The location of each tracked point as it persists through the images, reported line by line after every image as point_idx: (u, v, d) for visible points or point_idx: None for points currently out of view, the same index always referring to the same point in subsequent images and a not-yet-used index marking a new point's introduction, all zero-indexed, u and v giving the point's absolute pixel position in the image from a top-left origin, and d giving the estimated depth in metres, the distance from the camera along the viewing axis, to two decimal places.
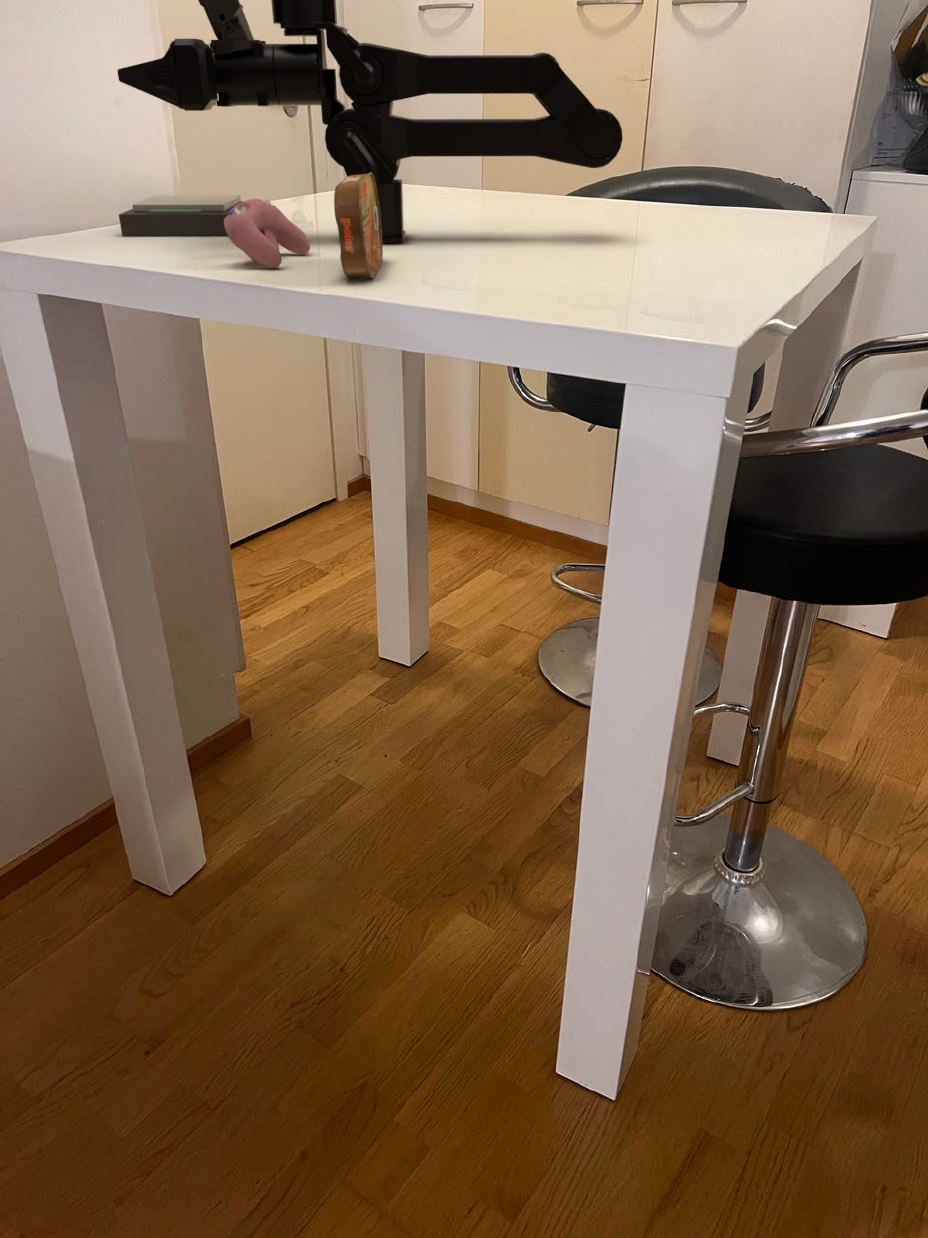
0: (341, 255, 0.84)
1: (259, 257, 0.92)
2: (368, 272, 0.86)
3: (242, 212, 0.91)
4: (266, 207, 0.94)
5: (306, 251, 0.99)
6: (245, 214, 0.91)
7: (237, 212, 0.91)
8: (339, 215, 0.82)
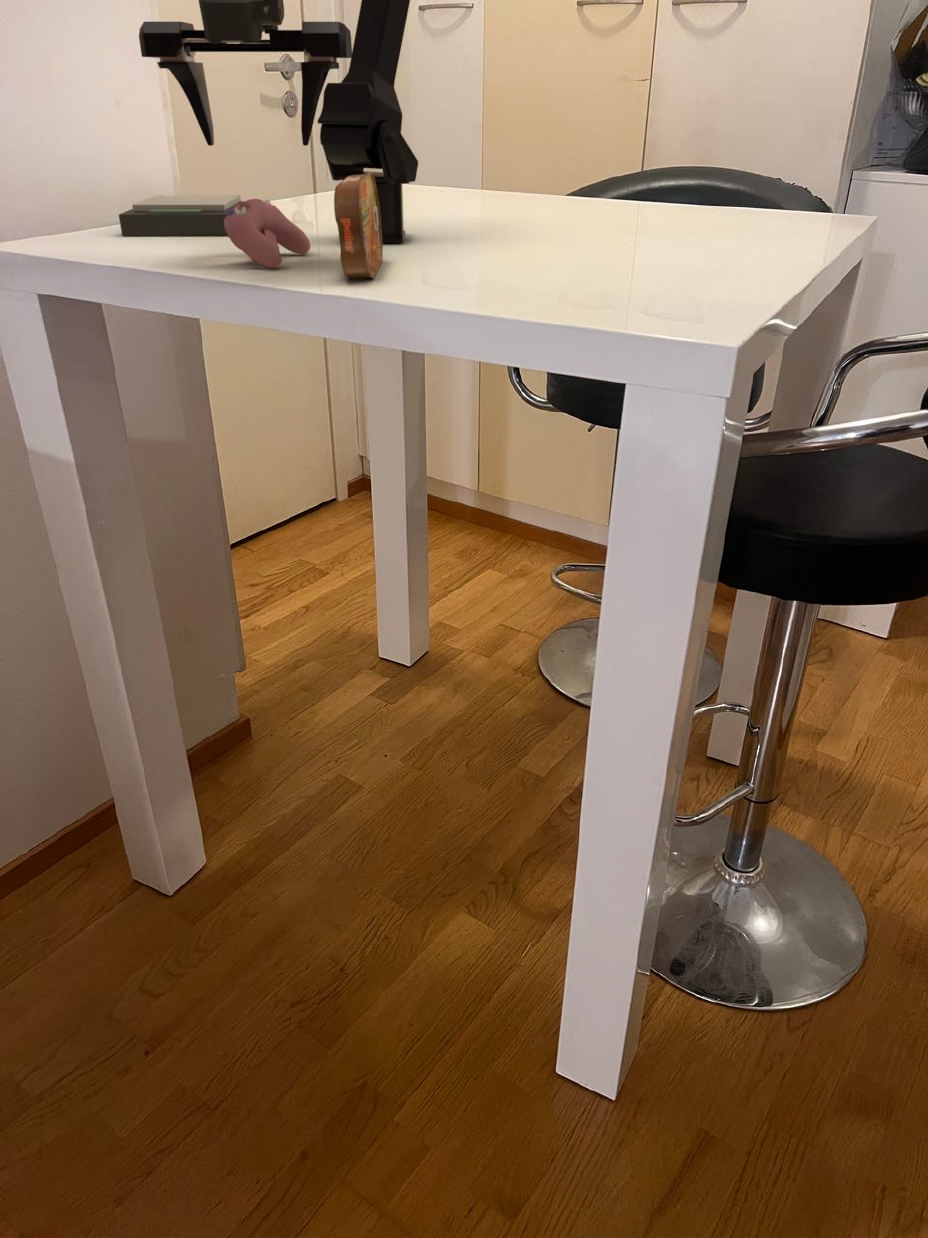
0: (341, 255, 0.84)
1: (259, 257, 0.92)
2: (368, 272, 0.86)
3: (242, 212, 0.91)
4: (266, 207, 0.94)
5: (306, 251, 0.99)
6: (245, 214, 0.91)
7: (237, 212, 0.91)
8: (339, 215, 0.82)
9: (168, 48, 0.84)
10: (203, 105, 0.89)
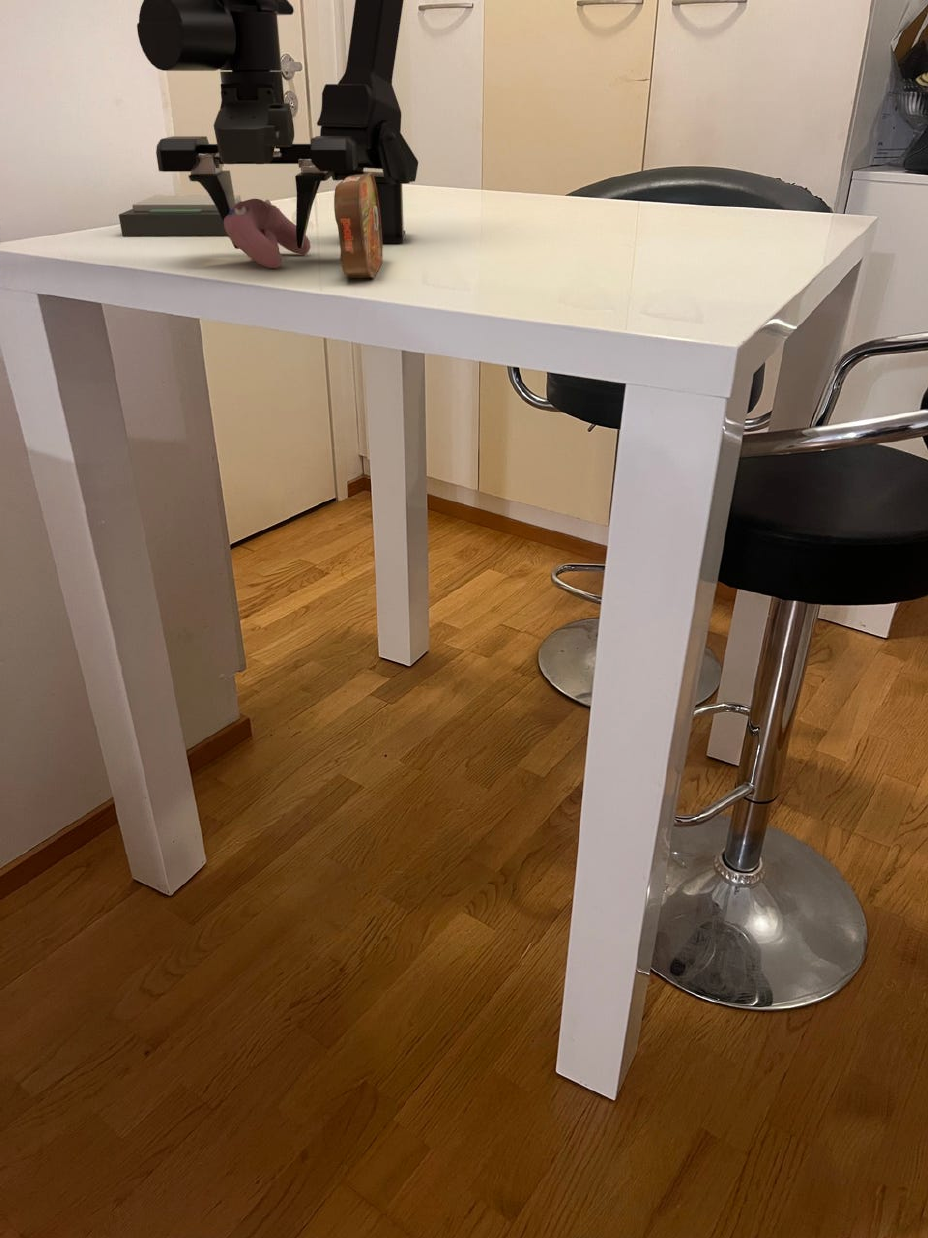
0: (341, 255, 0.84)
1: (259, 257, 0.92)
2: (368, 272, 0.86)
3: (242, 212, 0.91)
4: (266, 207, 0.94)
5: (306, 251, 0.99)
6: (245, 214, 0.91)
7: (237, 212, 0.91)
8: (339, 215, 0.82)
9: (184, 164, 0.89)
10: None
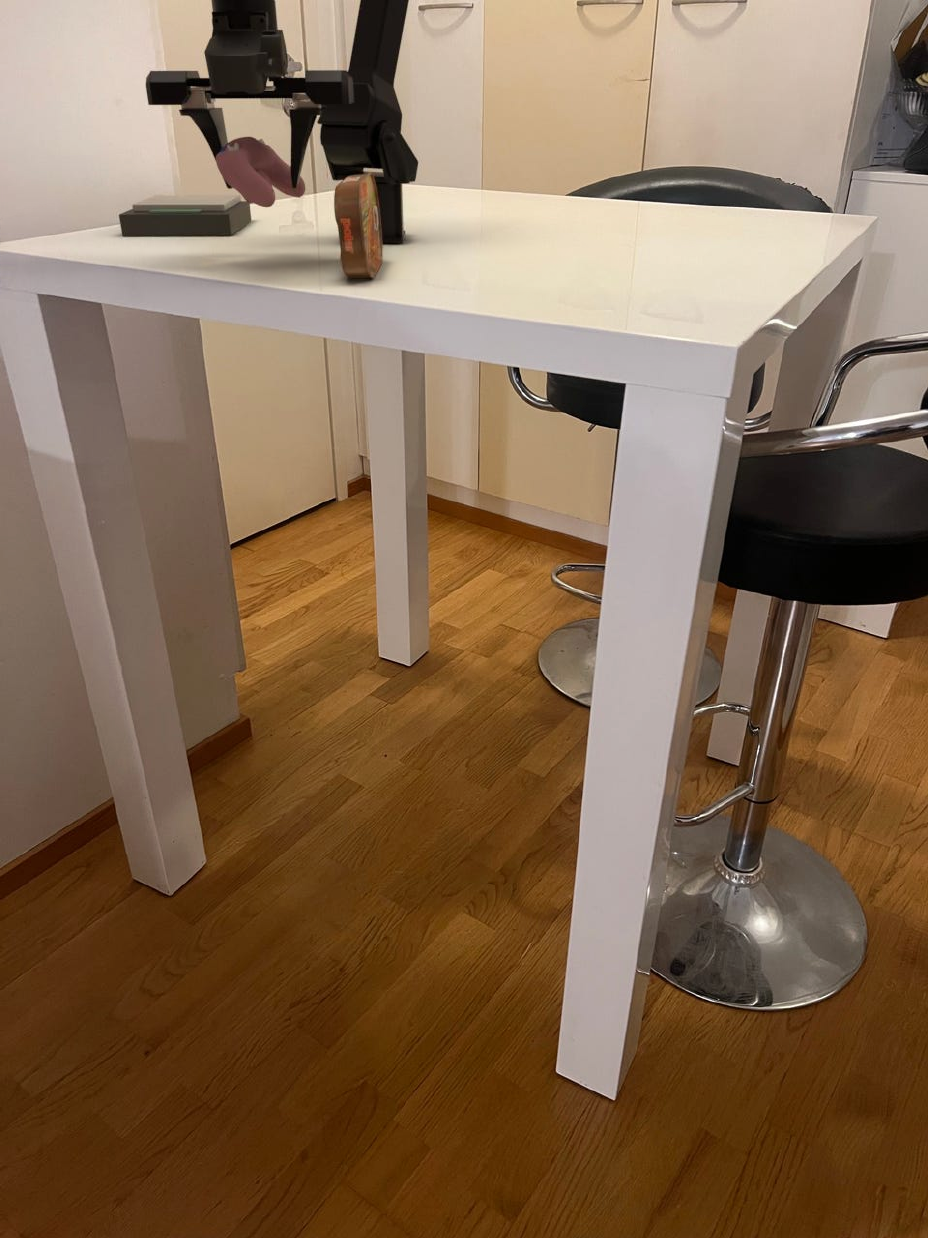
0: (341, 255, 0.84)
1: (252, 195, 0.89)
2: (368, 272, 0.86)
3: (235, 148, 0.88)
4: (260, 145, 0.91)
5: (301, 193, 0.96)
6: (238, 150, 0.88)
7: (230, 148, 0.89)
8: (339, 215, 0.82)
9: (174, 97, 0.86)
10: None
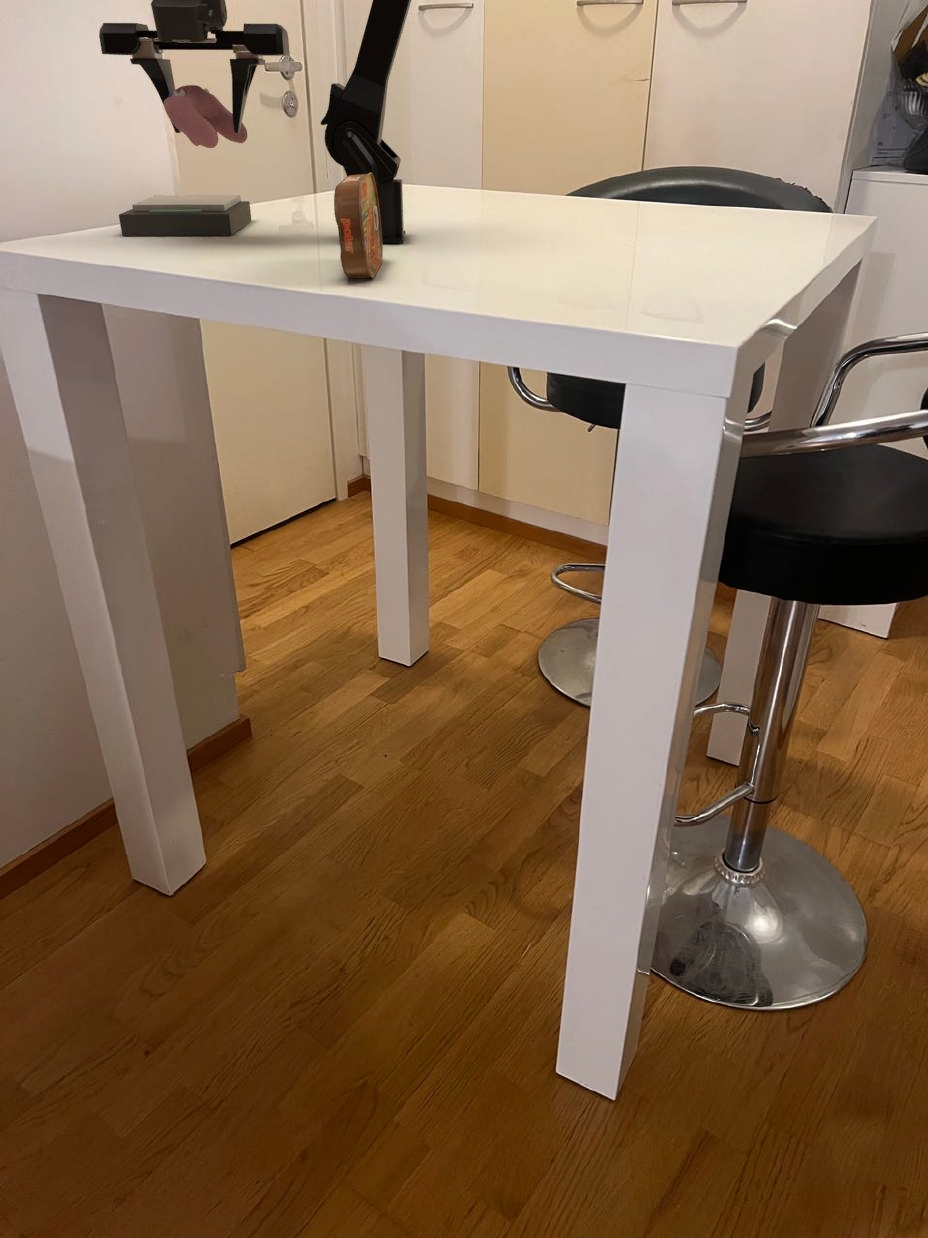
0: (341, 255, 0.84)
1: (197, 136, 0.99)
2: (368, 272, 0.86)
3: (181, 94, 0.98)
4: (204, 92, 1.01)
5: (243, 139, 1.06)
6: (183, 95, 0.98)
7: (176, 94, 0.98)
8: (339, 215, 0.82)
9: (125, 46, 0.96)
10: None
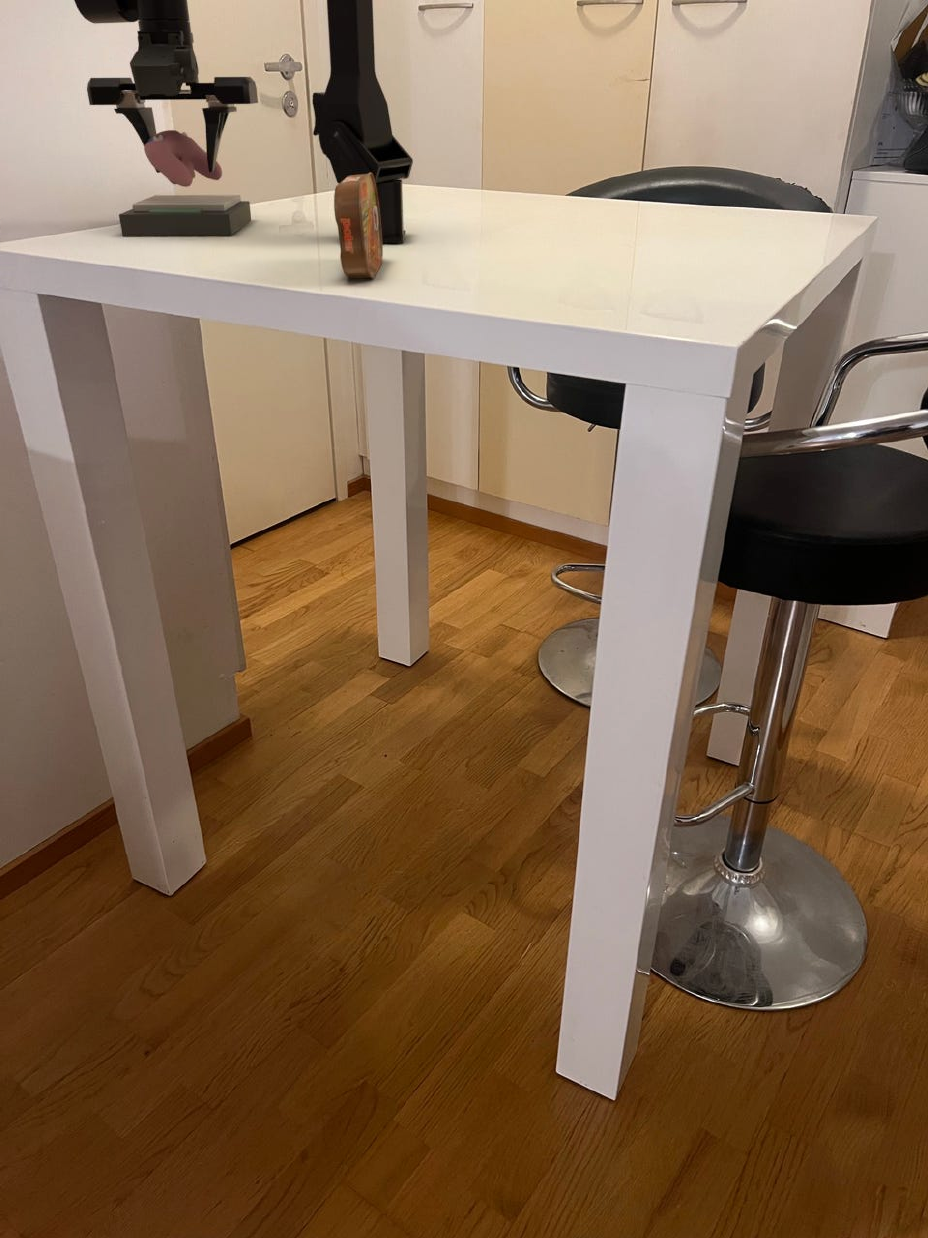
0: (341, 255, 0.84)
1: (174, 177, 1.11)
2: (368, 272, 0.86)
3: (159, 139, 1.10)
4: (181, 137, 1.13)
5: (218, 177, 1.18)
6: (161, 140, 1.10)
7: (155, 139, 1.10)
8: (339, 215, 0.82)
9: (110, 98, 1.08)
10: None
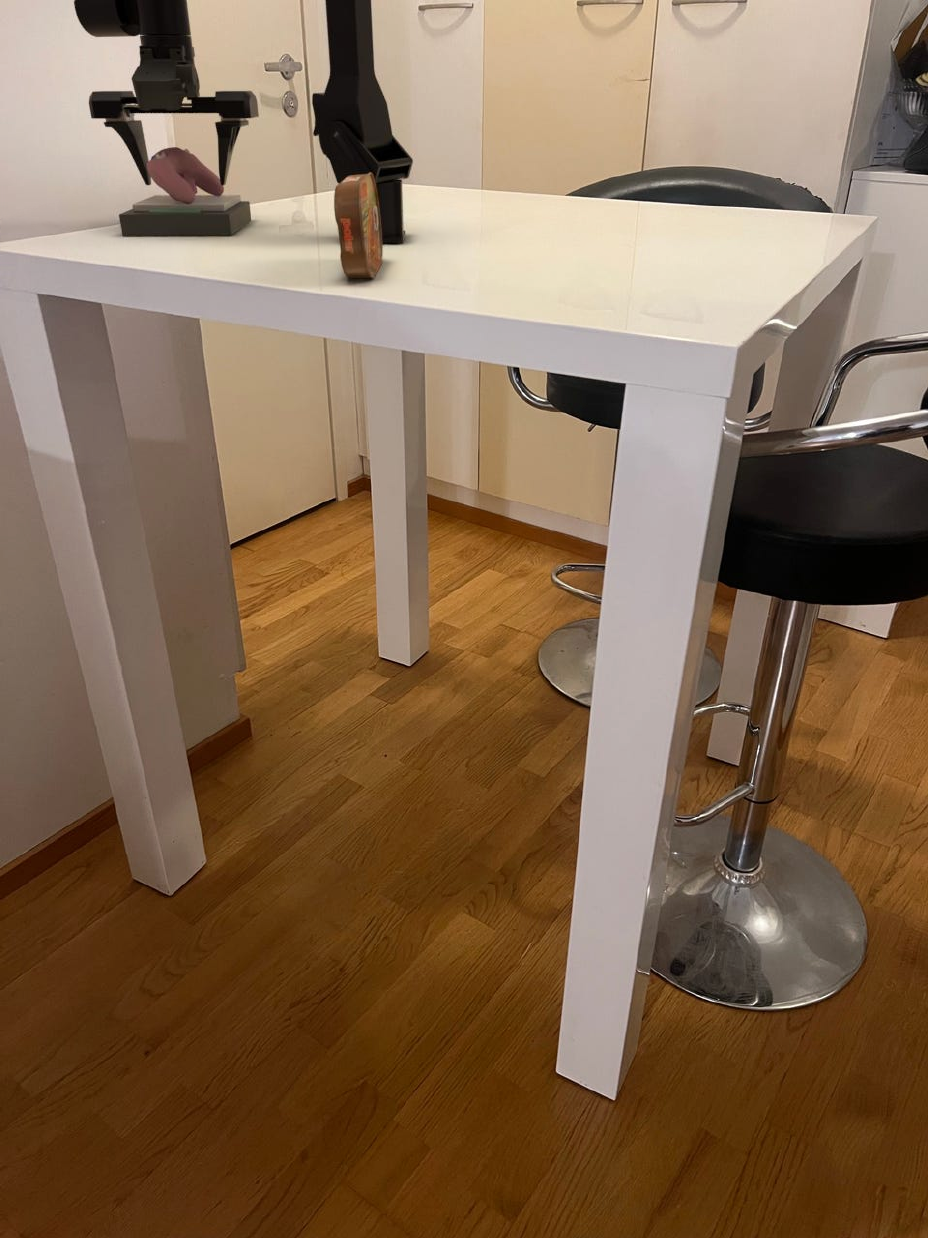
0: (341, 255, 0.84)
1: (176, 194, 1.11)
2: (368, 272, 0.86)
3: (161, 156, 1.11)
4: (183, 154, 1.14)
5: (220, 193, 1.19)
6: (164, 158, 1.11)
7: (158, 156, 1.11)
8: (339, 215, 0.82)
9: (111, 112, 1.09)
10: (141, 154, 1.13)
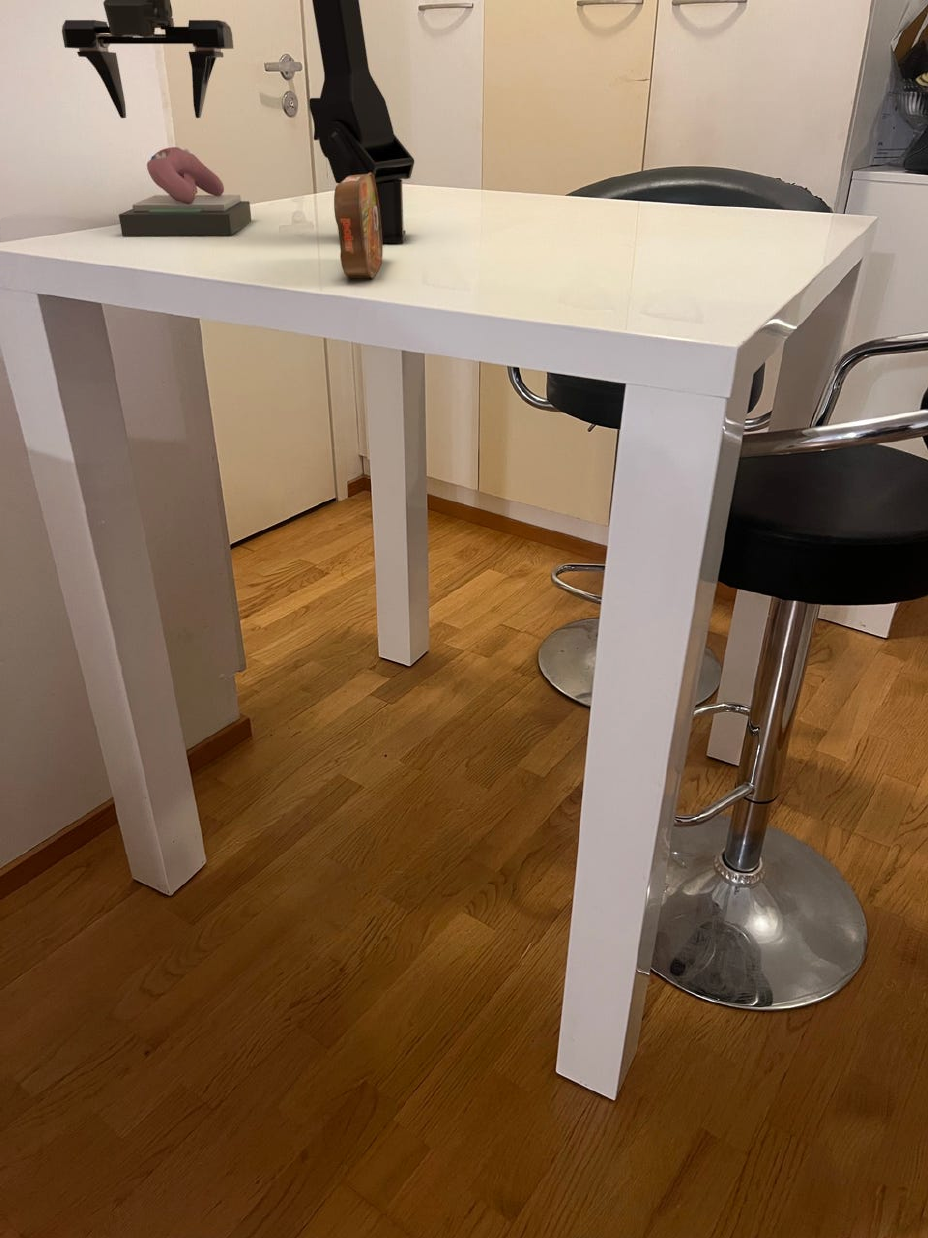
0: (341, 255, 0.84)
1: (176, 194, 1.11)
2: (368, 272, 0.86)
3: (161, 156, 1.11)
4: (183, 154, 1.14)
5: (220, 193, 1.19)
6: (164, 158, 1.11)
7: (158, 156, 1.11)
8: (339, 215, 0.82)
9: (84, 40, 1.09)
10: (115, 86, 1.13)
